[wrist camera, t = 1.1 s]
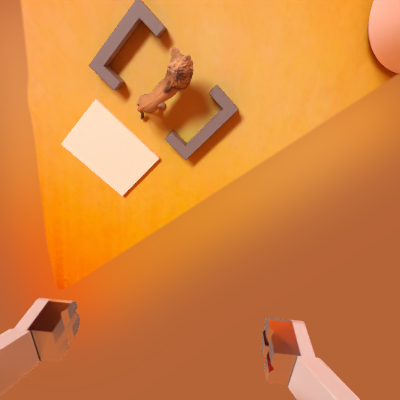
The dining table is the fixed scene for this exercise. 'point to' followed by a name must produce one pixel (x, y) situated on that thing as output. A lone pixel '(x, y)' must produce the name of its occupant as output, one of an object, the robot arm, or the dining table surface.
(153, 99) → the lion figurine
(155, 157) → the ceramic tile
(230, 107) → the grey bracket pair
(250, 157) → the dining table surface
